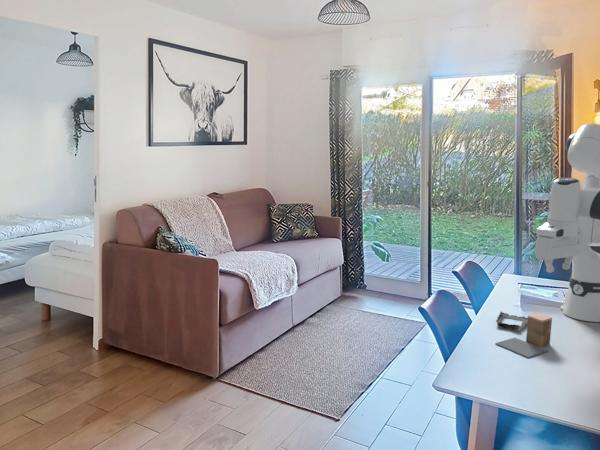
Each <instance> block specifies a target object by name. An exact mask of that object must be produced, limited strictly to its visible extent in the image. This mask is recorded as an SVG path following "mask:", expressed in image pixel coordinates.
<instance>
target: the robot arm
mask: <svg viewBox="0 0 600 450" xmlns="http://www.w3.org/2000/svg"><path fill="white" fill-rule="evenodd" d="M565 149H566V150H565V151H566V154H567V161H568V163H569V165H570V166H571V167H572V168H573V169H574V170H576V171H578V172H579V173H583V174H584V178H583V179H584V180H583V183H582V184H583V185H582V187H581V182H580V180H579V179H577V178H574V177H560V178H559V177H558V178H556V179H555V180H553V181H552V183H551V189H550V192H549V195H548V202H547V203H548V209H549V211H548V215H547V219H546V221H547V222H545V223H544V224H542V225H540V226H538V227H537V228H536V230H535V231H536V232H535V233H536V235H537V237H536V240H535V247H534V256H535V258H536V260H541V261H543V262H544V264H545V267H546V268H545V272H546V273H550V274H551V273H554V272H555V267H554V266H553V263H554V260H557V259H564V263H562V266H561V267H562V268H561V269H563V270H566V271H568V270H571V276H570V277H569V288H566V291H565V296H564V300H563V305H561V306H560V309H561V310H562V313H563V314H564V315H565V316H568V317H570V318H571V319H574V320H579V321H585V322H595V323H600V253H599V252H597V251H595V250H593V249H592V247H591V245H590V244H598V245H600V124H598V123H593V122H592V123H591V122H590V123H586V124H583V125H581V126H580V127H579V128H578V129H577V131H576V132H575V133H572V134H570V135H569V136H568V137H567V139H566V143H565ZM571 265H572V266H571ZM571 267H572V268H571ZM570 268H571V269H570Z"/></svg>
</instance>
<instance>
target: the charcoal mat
mask: <svg viewBox="0 0 600 450" xmlns="http://www.w3.org/2000/svg"><path fill="white" fill-rule="evenodd" d="M494 345H496V346H499V347H501V348H503V349H506V350H508V351H510V352H513V353H515V354H518V355H520V356H522V357H525V358H527V359H530V358H534V357H536V356H539V355H542V354H545V353H548V351H549V350H548V349H545V348H542V347H538V346H535V345H533V344H530V343H527V342H526V340H522V339H520V338H517V337H512V338H509V339H504V340H501V341H498V342H495V344H494Z"/></svg>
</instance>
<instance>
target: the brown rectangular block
mask: <svg viewBox="0 0 600 450" xmlns="http://www.w3.org/2000/svg"><path fill="white" fill-rule="evenodd" d="M527 318H528V322H527V323H526V337H525V342H527V343H530V344H532V345H535V346H538V347H540V348H542V347H545V346H548V345H550V344H551V343H550V342H551V335H552V334H551V333H552V322H553V321H552V320H553V317H550V316H547V315H545V314H542V313H533V314H529V315H528V316H527Z"/></svg>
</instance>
